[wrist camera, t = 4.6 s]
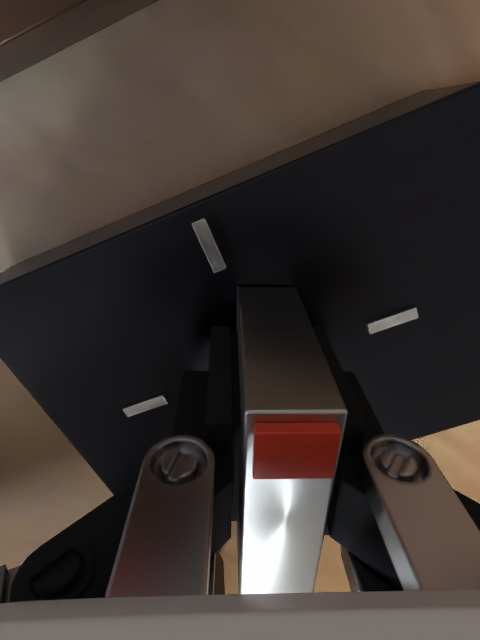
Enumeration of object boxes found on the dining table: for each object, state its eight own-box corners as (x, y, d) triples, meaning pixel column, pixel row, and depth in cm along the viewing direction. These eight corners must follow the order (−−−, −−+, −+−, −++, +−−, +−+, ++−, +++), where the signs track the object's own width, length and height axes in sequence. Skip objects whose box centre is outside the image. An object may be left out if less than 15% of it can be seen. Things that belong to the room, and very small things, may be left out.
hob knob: (283, 427, 13) (316, 606, 8) (234, 427, 12) (239, 608, 8) (296, 286, 10) (353, 422, 6) (237, 285, 10) (245, 423, 6)
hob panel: (149, 461, 17) (134, 527, 14) (10, 266, 13) (-50, 306, 10) (463, 361, 15) (516, 414, 12) (423, 89, 11) (492, 78, 8)
